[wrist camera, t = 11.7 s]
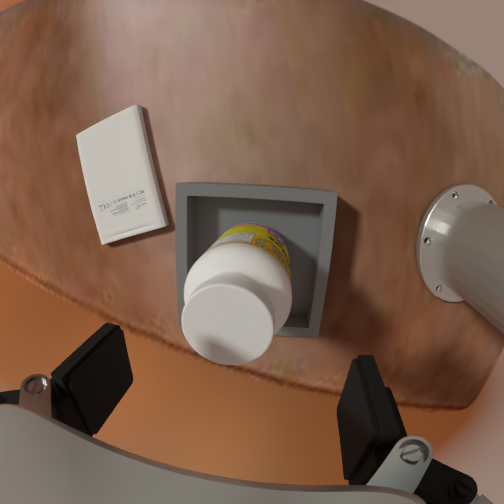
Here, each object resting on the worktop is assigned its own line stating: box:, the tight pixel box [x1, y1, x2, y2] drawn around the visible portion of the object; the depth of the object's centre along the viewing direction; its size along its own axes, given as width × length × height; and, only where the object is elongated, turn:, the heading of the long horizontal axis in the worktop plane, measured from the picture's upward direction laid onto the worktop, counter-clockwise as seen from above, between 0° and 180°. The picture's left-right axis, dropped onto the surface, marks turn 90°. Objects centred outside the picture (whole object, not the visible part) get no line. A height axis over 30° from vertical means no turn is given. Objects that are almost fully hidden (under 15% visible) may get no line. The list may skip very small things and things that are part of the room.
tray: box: [176, 182, 338, 338], centre depth 25 cm, size 13×13×3 cm
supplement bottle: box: [181, 223, 292, 365], centre depth 20 cm, size 7×7×13 cm
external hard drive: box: [76, 105, 169, 245], centre depth 25 cm, size 2×8×12 cm
